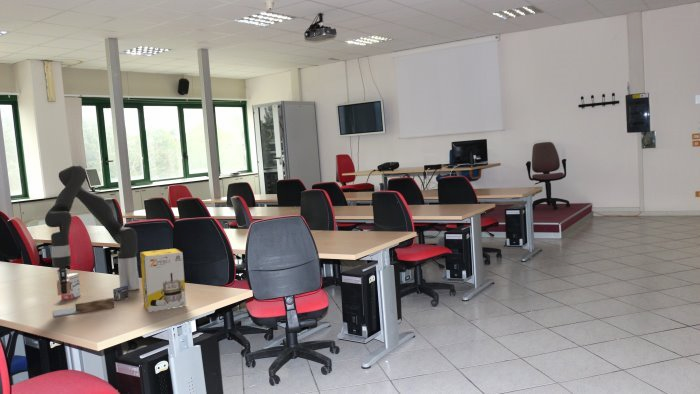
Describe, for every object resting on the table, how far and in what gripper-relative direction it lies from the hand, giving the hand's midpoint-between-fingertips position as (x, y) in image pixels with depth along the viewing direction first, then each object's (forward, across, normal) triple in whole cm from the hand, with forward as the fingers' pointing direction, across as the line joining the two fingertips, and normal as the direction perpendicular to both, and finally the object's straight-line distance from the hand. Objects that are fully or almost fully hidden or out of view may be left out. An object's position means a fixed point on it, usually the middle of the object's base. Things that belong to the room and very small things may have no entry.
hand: (63, 292), depth 253 cm
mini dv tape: (+10, +11, -25) cm, 29 cm away
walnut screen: (+9, -3, -12) cm, 16 cm away
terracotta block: (+1, 0, 0) cm, 1 cm away
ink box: (+10, +34, -4) cm, 35 cm away
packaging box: (+9, -18, -40) cm, 45 cm away
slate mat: (+9, 0, 0) cm, 9 cm away
